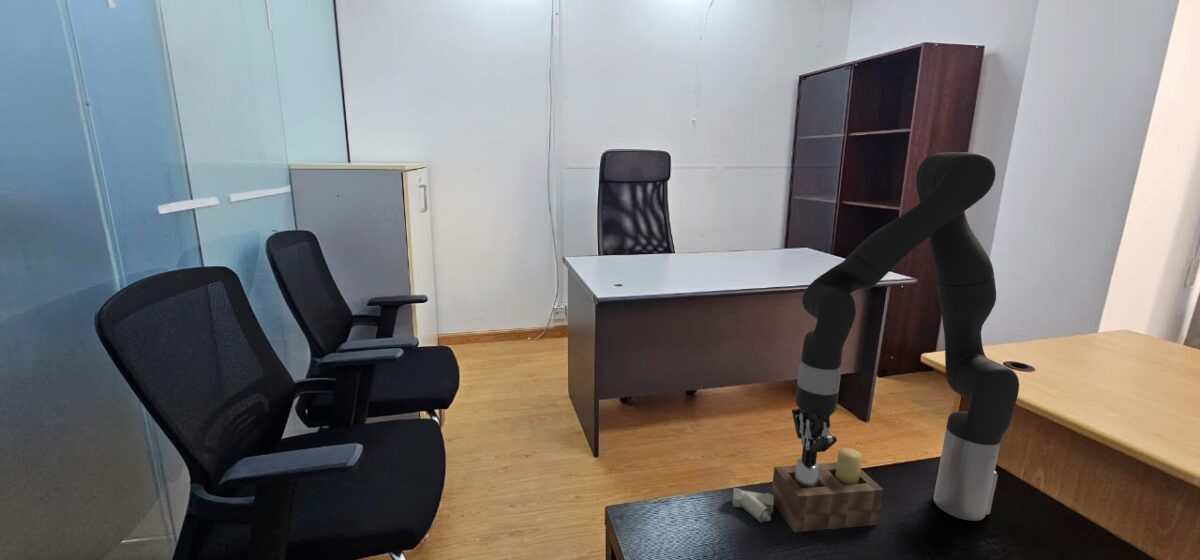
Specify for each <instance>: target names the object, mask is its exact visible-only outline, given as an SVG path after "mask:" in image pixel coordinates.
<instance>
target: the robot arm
mask: <svg viewBox="0 0 1200 560" xmlns="http://www.w3.org/2000/svg"><path fill="white" fill-rule="evenodd" d="M995 180H996V167H995V165H994V162H993V161H992V159H990V158H989V157H988V156H986V155H985V154H982V153H978V152H968V151H966V152H965V151H964V152H962V151H960V152H959V151H955V152H953V151H952V152H947V151H946V152H938V153H937V152H936V153H933V154H930V155H928V156H927V157H925V158H924V160H922V162H921V163H920V165H919V166H918V169H917V171H916V177H915V185H916V186H915V188H916V192H917V196H918V199H919V203H917V205H915V206H913V208H911V209H910V210H909V211H906V212H904V213H903V214H902V215H900V216H899V217H897V218H895V219H894V220H892V221H890V222H888V223H887V224H885V225H883V226H882V227H880V228H879V229H877V230H875V231H873V233H871V234H870V235H869V236H868V237H866V238H865V239H864V240H863V241H862V242H860V244H859V245H858V246H857V247H855V249H853V251H851V252H850V253H849V255H848V256H847V257H845V259H843V261H842V262H840V263H839V264H837V265H835V266H833V267H832V268H830V269H829V270H827V271H825V272H824V273H822V274H821V275H819V276H818V277H817V278H815V279H814V280H813V281H812V282H811V283H810V284H809V285H808V286H807V287H806V289H805V290H804V293H803V295H802V299H801V303H802V306H803V309H804V310H805V311H806V312H807V314H809V315H810V316H812V318H815V319H816V324H815V327H814V330H811V331H809V332H806V333H807V334H806V335H805V336H804V339H803V344H802V351H801V359H800V360H801V361H800V364H799V368H798V375H797V383H796V393H795V399H794V400H795V401H794V402H795V405H796V406H797V407H798V408H793V409H791V412H792V414H791V415H792V418H793V423H794V429H795V433H796V437H797V439H801V440H800V444H801V446H802V453H801V458H802V463H803V464H804V465H805V466H806V467H808V466H814V465H815V464H816V462H817V456H818V453H824V452H826V451H827V450H828V449H830V448H831V447H832V446H834V444H835V443H837V439H838V438H837V436H835V435H832V434H831V432H830V427H831V421H830V417H831V416H832V415H833V414H834V413H835V412H836V410H837V407H838V400H839V394H840V393H839V392H840V383H841V366H842V365H841V364H842V359H843V357H842V356H843V351H844V350H843V348H844V345H845V343H846V341H847V339H848V337H849V335H850V332H851V329H852V327H853V324H854V322H855V318H856V314H857V313H856V311H857V307H856V306H857V305H856V302H855V298H854V297H853V295H852V293H854V292H856V291H858V290H869V289H871V288H874V286H876V285H877V284H878V283H880V281H881V280H883V278H884V277H885V276H886V275H888V273H889V272H890V271H892V270H893V269H894V268H895V267H896V266H897V265H898V264H899V263H900V262H901V261H902V260H903V259H904V258H905V257H907V255H908V254H910V252H912V251H913V250H914V249H915V248H917V247H918V246H919V245H920V244H922V243H923V242H925V240H927V239H928V238H929V244H930V248H931V254H932V259H933V265H934V266H933V267H934V276H935V283H936V288H937V295H938V300H939V305H940V311H941V320H942V328H943V335H944V350H945V351H944V357H945V358H944V359H945V361H944V366H945V376H946V377H945V378H946V381H947V384H948V386H949V387H950V388H951V390H952V391H954V393H956V394H958V395H959V396H960V397H963V398H964V399H966V400H968V401H969V402H970V403H969V406H968V409H967V411H961V410H960V411H954V412H952V413H950V414H949V415H948V417H947V423H946V426H945V431H944V438H943V444H942V449H941V454H940V460H939V467H938V472H937V477H936V483H935V487H934V493H933V498H932V499H933V502H934V503H935V505H936V506H937V508H939V509H940V510H941V511H943V512H944V513H946V514H948V515H949V516H952V517H955V518H957V519H960V520H963V521H964V520H965V521H972V522H973V521H974V522H975V521H976V522H977V521H982V520H983V519H985V518H986V516H988V515H990V514H991V509H992V504H993V499H994V497H995V496H994V495H995V492H996V491H995V490H996V488H997V487H996V486H997V482H998V477H999V475H998V472H997V471H996V467H997V461H998V457H999V452H1000V447H1001V441H1002V439H1003V435H1004V434H1005V433H1006V431H1008V428H1009V426H1010V425H1011V420H1012V417H1013V414H1014V410H1015V406H1016V403H1017V400H1018V396H1019V393H1020V392H1019V391H1020V382H1019V381H1020V380H1019V376H1018V374H1017V373H1016V371H1014V370H1013V369H1011V368H1009V367H1007V366H1005V365H1003V364H1001V363H1000V362H999V363H998V362H996V361H995V360H993V359H990V358H989V357H987V356H986V353H985V350H984V348H983V341H982V329H983V325H984V323H986V320H987V319H988V318H989V316H990V314H991V312H992V311H993V309H994V307H995V304H996V302H997V288H996V287H997V286H996V279H995V271H994V267H993V264H992V261H991V259H990V258H989V255H988V254H987V252H986V250H985V248H984V247H983V246H982V244H981V243H980V241H979V239H978V238H977V236H976V235H975V233H974V232H973V230H972V228H971V227H970V225H969V222H968V219H967V216H966V210H968V209H969V208H971V207H972V206H974V205H975V204H977V203H978V202H979V201H981V199H983V198H984V197H985V196H986V195H987V194H988V192H989V191H990V190H991V189H992V188H993V185H994V184H995V183H994V182H995Z"/></svg>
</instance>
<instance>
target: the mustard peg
mask: <svg viewBox="0 0 1200 560" xmlns="http://www.w3.org/2000/svg"><path fill="white" fill-rule="evenodd" d="M836 461H837V466H836V474H835V478H836V479H837V480H838V481H839V482H840V483H841V484H842V485H852V484H858V483H859V476H860V469H861V468H862V462H863V454H862V453H861V452H860V451H858V450H856V449H854V448H850V447H842V448H839V449H838V452H837V460H836ZM861 470H862V469H861Z"/></svg>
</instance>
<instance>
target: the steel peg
mask: <svg viewBox="0 0 1200 560" xmlns="http://www.w3.org/2000/svg"><path fill="white" fill-rule="evenodd" d="M819 464H820V463H819V462H817V461H816V464H815V465H814V466H808V467H806V466H805V465H804V464H803V463H802V457H801V458H798V459H797V460H796V464H795V465H796V472H795V482H796V483H797V484H798V486H799V487H800V488H813V487H818V479H819V471H820V465H819Z"/></svg>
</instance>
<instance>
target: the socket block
mask: <svg viewBox="0 0 1200 560" xmlns="http://www.w3.org/2000/svg"><path fill="white" fill-rule="evenodd" d="M818 464H819V465H820V471H819V479H818V487H813V488H800V487H799V486H798V484H797V483H796V482H795V472H796V464H795V465H794V464H793V465H779V466H774V468H773V474H772V475H773V477H772V484H771V493H770V494H773V496H774V507H775V508H776V509H777V511H778V512H779V513H780V515H781V516H782V517H783V519H784V520H785V522H786V523H787V524H788V526H789V527H790V529H791V530H792V531H793V533H801V532H802V533H803V532H811V531H821V530H822V531H823V530H834V529H846V528H855V527H856V528H857V527H867V526H876V525H877V526H878V525H879V519H880V513H881V506H882V500H883V495H884V494H883V493H884V489H883V488H882V487H881V486H880V485H879V484H878V483H877V482H876V481H875V480H873V479H872V478H871V477H870V476H869V475H868V474H867V473H866V472H865V471H864V470H863V469H860V476H859V483H858V484H852V485H842V484H841V483H840V482H839V481H838V480H837V479H836V478H835V474H836V466H837V462H836V461H835V462H823V463H818Z"/></svg>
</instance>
